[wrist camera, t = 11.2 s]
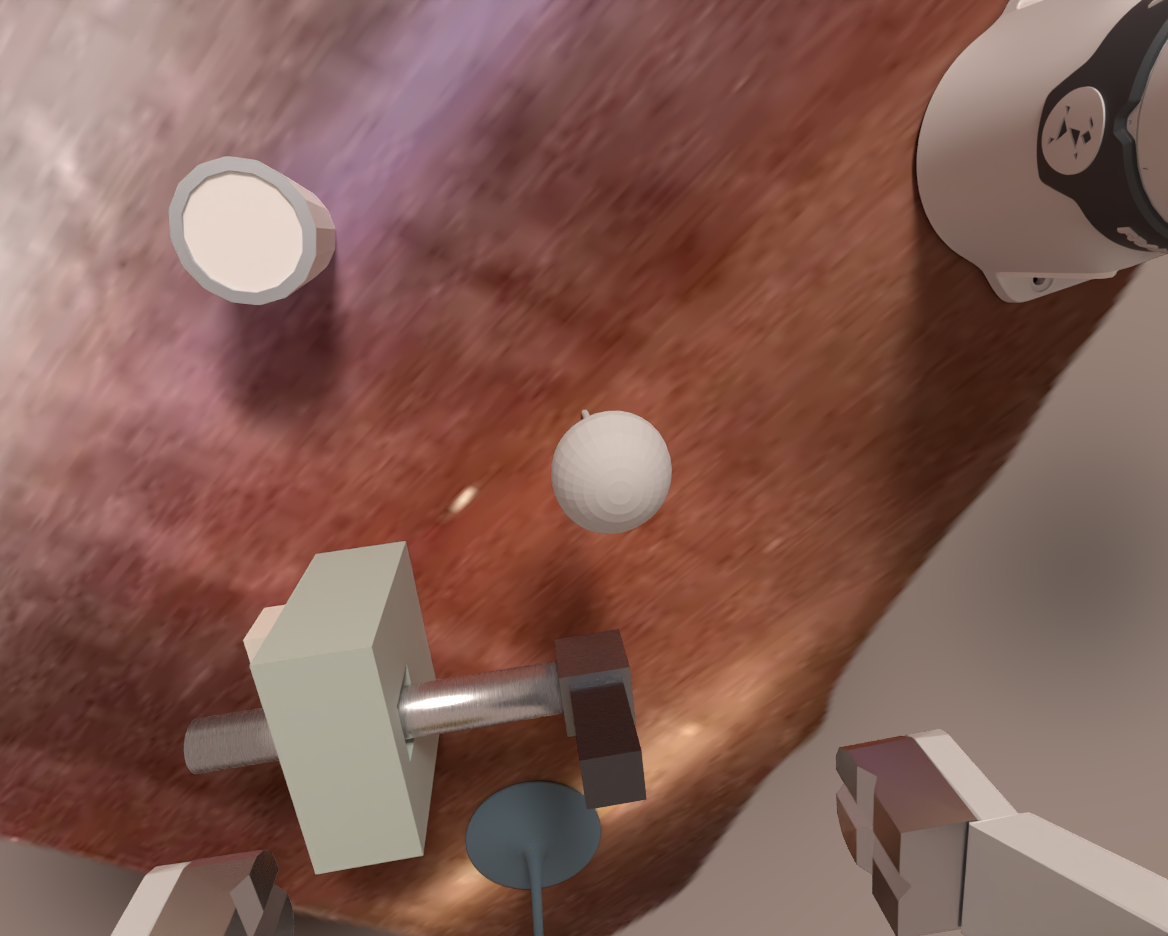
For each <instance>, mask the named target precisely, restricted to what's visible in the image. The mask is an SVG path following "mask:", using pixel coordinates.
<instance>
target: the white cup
mask: <svg viewBox="0 0 1168 936" xmlns="http://www.w3.org/2000/svg"><path fill="white" fill-rule="evenodd" d="M169 223H170V239H171V241H172V243H173V246H174V248H175V250H176V252H177V254H178V257H179V259H180V261H181V263H182V265H183V267H184V268H185V269H186V270H187V271H188V272H189V273H190V274H191V275H192V276H193V277H194V278H195V279H196V280H197V281H198V282H199V284H200V285H201V286H202V287H203V288H204V289H206V290H208V291H210V292H212V293H214V294H216V295H218V296H220V297H222V298H224V299H226V300H228V301H230V302H234V303H243V304H252V305H263V304H266V303H269V302H273V301H276V300H279V299H283V298H286V297H287V296H289V295H290V294H292V293H293V292H295V291H296V290H298V289H299V288H300V287H302V286H303V285H305V284H306V283H308V282H309V281H311V280H312V279H314V278H315V277H316V276H317V275H318V274H319V273H321V272H322V271H323V270H324V269H325V268H326V267H327V266H328V265H329V262H330V260H331V258H332V256H333V253H334V251H335V231H336V229H335V227H334V224H333V222H332V219H331V216H330V214H329V211H328V209H327V208H326V207H325V206H324V205H323V204H322V202H321V201H320V200H319V199H318V198H317V197H316V195H315V194H313V193H312V192H310V191H309V190H307V189H305V188H304V187H302V186H301V185H299V184H297V183H296V182H294V181H293V180H291V179H289V178H288V177H286V176H284V175H283V174H281V173H279V172H277V171H275V170H274V169H272V168H270V167H268V166H266V165H265V164H263V163H261V162H259V161H257V160H252V159H244V158H237V157H229V156H225V157H222V158H219V159H215V160H212V161H208V162H205V163H202V164H199V165H198V166H197V167H196V168H195V169H193V170H192V171H191V172H190V173H189V174H188V175H187V176H186V177H185V178H184V179H183V180H182V181H180V182H179V184H178V186H177V189H176V192H175V194H174V197H173V200H172V202H171V205H170V207H169Z"/></svg>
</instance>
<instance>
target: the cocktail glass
mask: <svg viewBox="0 0 1168 936" xmlns="http://www.w3.org/2000/svg"><path fill="white" fill-rule="evenodd" d="M600 835H601V826H600V820H599V817H598V815H597V812H596V810H595V808H594V809H588V810H587V809H586V802H585V797H584V796H583V795H582V794H581V793H579V792H578V791H576V790H574V789H572V788H570V787H568V786H565V785H562V784H558V783H553V782H545V781H533V782H524V783H519V784H515V785H512V786H509V787H507V788H504V789H502V790H500V791H498V792H496V793H495V794H493V795H492V796H490V797H489V798H487V799H486V800H485V801H484V802H483V803H482V804H481V805H480V806H479V807H478V809H477V810H476V811H475V812H474V814H473V816H472V818H471V820H470V821H469V825H468V828H467V832H466V848H467V852H468V855H469V858H470V859H471V861H472V863H473V865H474V866H475V867H476V868H477V869H478V870H479V872H481V873H482V874H483V875H484V876H486V877H487V878H489V879H490V880H492V881H494V882H496V883H499V884H501V885H504V886H508V887H512V888H520V889H531V894H532V910H533V926H534V936H543V914H542V888H543V887H548V886H551V885H555V884H558V883H560V882H562V881H565V880H567V879H569V878H570V877H572V876H574V875H575V874H576V873H578V872H579V871H580V870H582V869H583V868H584V867H585V866H586V865H587V864H588V863H589V861H590V860H591V858H592V857H593V856H594V854H595V852H596V850H597V848H598V845H599V841H600Z"/></svg>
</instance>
